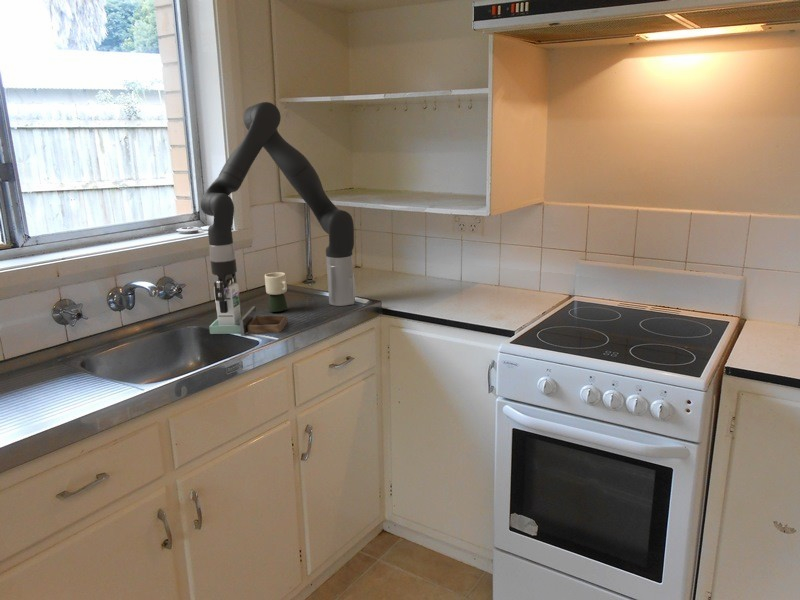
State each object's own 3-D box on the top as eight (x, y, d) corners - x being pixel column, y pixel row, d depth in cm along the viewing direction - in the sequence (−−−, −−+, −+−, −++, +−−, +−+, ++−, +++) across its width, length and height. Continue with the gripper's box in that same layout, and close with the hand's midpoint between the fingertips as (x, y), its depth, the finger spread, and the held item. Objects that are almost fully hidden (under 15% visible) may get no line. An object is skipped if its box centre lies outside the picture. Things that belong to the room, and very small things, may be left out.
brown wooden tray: (287, 322, 203) (286, 315, 202) (280, 332, 193) (279, 325, 193) (256, 323, 203) (255, 315, 203) (248, 333, 194) (247, 325, 193)
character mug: (296, 311, 215) (293, 274, 212) (280, 316, 210) (277, 278, 207) (276, 306, 222) (273, 270, 219) (260, 311, 217) (256, 274, 213)
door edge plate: (257, 321, 206) (255, 306, 204) (244, 335, 191) (242, 320, 190) (254, 321, 206) (252, 306, 204) (241, 336, 191) (239, 320, 190)
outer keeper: (250, 323, 203) (249, 316, 203) (241, 333, 194) (241, 325, 193) (220, 324, 204) (219, 316, 203) (210, 333, 194) (209, 326, 194)
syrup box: (236, 331, 196) (231, 286, 192) (218, 331, 197) (213, 286, 193) (243, 326, 201) (238, 282, 197) (226, 325, 202) (221, 282, 198)
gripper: (227, 262, 186) (233, 315, 190) (241, 253, 199) (246, 302, 204) (202, 263, 186) (209, 315, 190) (218, 253, 200) (223, 302, 204)
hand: (228, 308), depth 197 cm, fingers open, 8 cm apart
